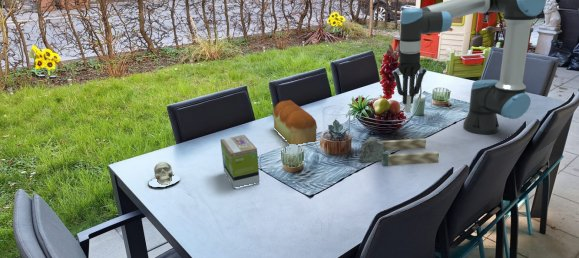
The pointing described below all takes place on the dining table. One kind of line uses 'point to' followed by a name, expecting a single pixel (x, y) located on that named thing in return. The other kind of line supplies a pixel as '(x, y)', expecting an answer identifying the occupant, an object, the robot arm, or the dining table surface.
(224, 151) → the tea box
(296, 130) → the bread
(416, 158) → the chevron patterned bars
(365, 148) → the stone
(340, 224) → the dining table surface
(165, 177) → the skull
